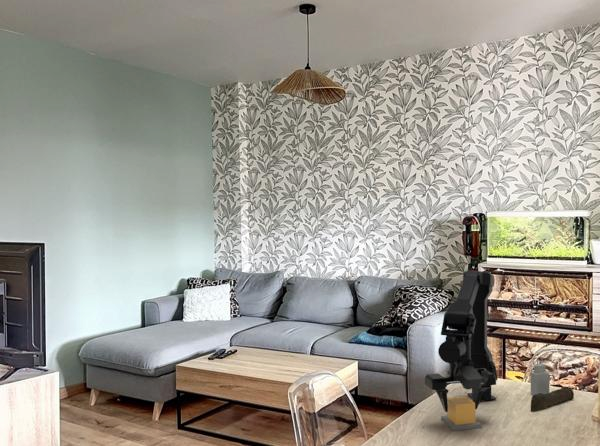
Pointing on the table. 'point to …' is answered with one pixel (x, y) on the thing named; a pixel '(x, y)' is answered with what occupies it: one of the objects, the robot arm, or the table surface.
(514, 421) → the table surface
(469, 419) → the orange foam cube
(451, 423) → the grey base with peg
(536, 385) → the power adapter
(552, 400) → the hand tool
